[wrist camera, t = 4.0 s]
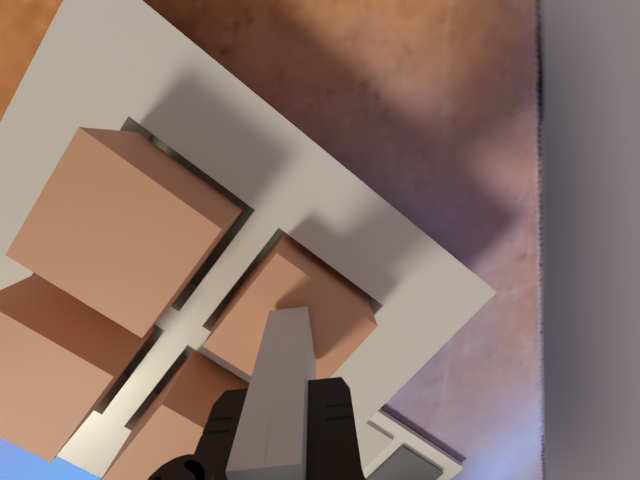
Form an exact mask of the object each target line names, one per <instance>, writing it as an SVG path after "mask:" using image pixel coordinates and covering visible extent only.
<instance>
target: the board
mask: <svg viewBox="0 0 640 480" xmlns="http://www.w3.org/2000/svg"><path fill="white" fill-rule="evenodd" d="M78 127H84V128H96V129H108V130H119V131H131V132H138V133H140V134H141V135H142V136H144V137H145V138H147V139H148V140H149V141H151V142H152V143H153V144H155V145H156V146H157V147H159V148H160V149H161V150H163V151H164V152H166V153H167V154H168V155H170V156H171V157H172V158H174V159H175V160H176V161H178V162H179V163H180V164H182V165H183V166H184V167H186V168H187V169H189V170H190V171H191V172H193V173H194V174H195V175H197V176H198V177H199V178H201V179H202V180H203V181H205V182H206V183H208V184H209V185H210V186H212V187H213V188H214V189H216V190H217V191H218V192H220V193H221V194H222V195H224V196H225V197H227V198H228V199H229V200H231V201H232V202H233V203H235V204H236V205H237V206H239V207H240V208H241V209H243V211H242V212H241V214H240V215H239V216H238V218H237V219H236V220H235V222H234V223H233V224H232V226H231V227H230V229H229V230H228V231H227V233H226V234H225V235H224V237H223V238H222V239H221V241H220V242H219V243H218V245H217V246H216V247H215V249H214V250H213V252H212V253H211V254H210V256H209V257H208V258H207V260H206V261H205V262H204V264H203V265H202V266H201V268H200V269H199V270H198V272H197V273H196V274H195V276H194V277H193V279H192V280H191V281H190V283H189V284H188V285H187V287H186V288H185V289H184V291H183V292H182V293H181V295H180V296H179V297H178V298H177V299H176V301H175V302H174V303H173V304H172V305H171V306H170V307H169V308H168V310H167V311H166V312H165V313H164V314H163V315H162V316H161V317H160V319H159V320H158V321H157V322H156V323H155V324H154V325H153V326H155V327H156V329H155V330H154V331H153V333H152V334H151V335H150V337H149V338H148V339H147V341H146V342H145V343H144V345H143V346H142V347H141V349H140V350H139V352H138V353H137V354H136V356H135V357H134V358H133V360H132V361H131V362H130V364H129V365H128V366H127V368H126V369H125V370H124V372H123V373H122V375H121V376H120V377H119V379H118V380H117V381H116V383H115V384H114V385H113V387H112V388H111V389H110V391H109V392H108V393H107V395H106V396H105V397H104V399H103V400H102V401H101V402H100V404H99V405H98V406H97V407H96V408H95V410H94V411H93V412H92V413H91V415H90V416H89V417H88V418H87V419H86V421H85V422H84V423H83V424H82V425H81V427H80V428H79V429H78V430H77V431H76V433H75V434H74V435H73V436H72V437H71V439H70V440H69V441H68V442H67V443H66V445H65V446H64V447H63V448H62V449H61V451H60V452H59V453H58V454H57V456H58V457H60V458H62V459H64V460H66V461H68V462H70V463H72V464H74V465H76V466H78V467H80V468H82V469H84V470H86V471H88V472H90V473H92V474H94V475H96V476H98V477H100V478H102V477H103V475H104V474H105V472H106V471H107V469H108V467H109V466H110V464H111V463H112V461H113V460H114V458H115V456H116V455H117V453H118V452H119V450H120V449H121V447H122V445H123V444H124V442H125V441H126V439H127V438H128V436H129V434H130V433H131V431H132V430H133V428H134V427H135V425H136V423H137V422H138V420H139V419H140V417H141V416H142V415H143V414H144V412H145V411H146V410H147V409H148V407H149V406H150V405H151V403H152V402H153V401H154V400H155V398H156V397H157V396H158V395H159V393H160V392H161V391H162V390H163V388H164V387H165V386H166V384H167V383H168V382H169V381H170V379H171V378H172V377H173V376H174V374H175V373H176V372H177V370H178V369H179V368H180V367H181V365H182V364H183V363H184V362H185V360H186V359H187V358H188V356H189V355H190V354H191V353H192V351H193V350H194V351H195V352H197V353H198V354H200V355H202V356H203V357H205V358H206V359H208V360H210V361H211V362H213V363H215V364H216V365H218V366H219V367H221V368H223V369H224V370H226V371H227V372H229V373H231V374H232V375H234V376H235V377H237V378H239V379H240V380H242V381H244V382H245V383H247V384H248V385H249V384H250V380H251V376H249V375H248V374H246V373H245V372H243V371H241V370H240V369H238V368H237V367H235V366H234V365H232V364H230V363H229V362H227V361H226V360H224V359H222V358H221V357H219V356H218V355H216V354H214V353H213V352H211V351H210V350H208V349H206V348H205V347H203V345H204V343H205V341H206V339H207V337H208V336H209V334H210V332H211V330H212V328H213V327H214V325H215V323H216V321H217V319H218V317H219V316H220V314H221V312H222V310H223V308H224V307H225V305H226V304H227V303H228V302H229V300H230V299H231V298H232V296H233V295H234V294H235V293H236V291H237V290H238V289H239V287H240V286H241V285H242V284H243V282H244V281H245V280H246V279H247V277H248V276H249V275H250V273H251V272H252V271H253V270H254V268H255V267H256V266H257V265H258V263H259V262H260V261H261V259H262V258H263V257H264V256H265V254H266V253H267V252H268V251H269V249H270V248H271V247H272V245H273V244H274V243H275V242H276V240H277V239H278V238H279V236H280V235H281V234H282V233H283V231H284V232H285V233H287V234H288V235H289V236H291V237H292V238H293V239H295V240H296V241H297V242H299V243H300V244H301V245H303V246H304V247H305V248H307V249H308V250H309V251H311V252H312V253H313V254H315V255H316V256H318V257H319V258H320V259H322V260H323V261H324V262H326V263H327V264H328V265H330V266H331V267H332V268H334V269H335V270H336V271H338V272H339V273H340V274H342V275H343V276H344V277H346V278H347V279H348V280H350V281H351V282H353V283H354V284H355V285H357V286H358V287H359V288H361V289H362V290H363V291H365V293H366V295H367V298H368V301H369V304H370V306H371V309H372V312H373V314H374V317H375V320H376V323H377V325H378V326H377V327H376V328H375V330H374V331H373V332H372V333H371V334H370V335H369V336H368V337H367V338H366V339H365V340H364V341H363V342H362V344H361V345H360V346H359V347H358V348H357V349H356V350H355V351H354V352H353V353H352V354H351V355H350V356H349V358H348V359H347V360H346V361H345V362H344V363H343V364H342V365H341V366H340V367H339V368H338V369H337V370H336V372H335V373H334V374H333V375H332V376H331V377H330V378H334V377H342V378H343V380H344V381H345V382H346V384H347V385H348V386H349V388H350V392H351V399H352V406H353V412H354V419H355V426H356V432H357V431H358V430H359V429H360V428H361V427H362V426H363V425H364V424H365V423H366V422H367V421H368V420H369V419H370V418H371V417H372V416H373V415H374V414H375V413H376V412H377V411H378V410H379V409H380V408H381V407H382V406H383V405H384V404H385V403H386V402H387V401H388V400H389V399H390V398H391V397H392V396H393V395H394V394H395V393H396V392H397V391H398V390H399V389H400V388H401V387H402V386H403V385H404V384H405V383H406V382H407V381H408V380H409V379H410V378H411V377H412V376H413V375H414V374H415V373H416V372H417V371H418V370H419V369H420V368H421V367H422V366H423V365H424V364H425V363H426V362H427V361H428V360H429V359H430V358H431V357H432V356H433V355H434V354H435V353H436V352H437V351H438V350H439V349H440V348H441V347H442V346H443V345H444V344H445V343H446V342H447V341H448V340H449V339H450V338H451V337H452V336H453V335H454V334H455V333H456V332H457V331H458V330H459V329H460V328H461V327H462V326H463V325H464V324H465V323H466V322H467V321H468V320H469V319H470V318H471V317H472V316H473V315H474V314H475V313H476V312H477V311H478V310H479V309H480V308H481V307H482V306H483V305H484V304H485V303H486V302H487V301H488V300H489V299H490V298H491V297H492V296H493V295H494V294H495V293H496V291H495V290H493V289H492V288H491V287H490V286H489V285H487V284H486V283H485V282H484V281H482V280H481V279H480V278H479V277H478V276H476V275H475V274H474V273H473V272H472V271H470V270H469V269H468V268H467V267H465V266H464V265H463V264H462V263H461V262H459V261H458V260H457V259H456V258H455V257H453V256H452V255H451V254H450V253H448V252H447V251H446V250H445V249H444V248H442V247H441V246H440V245H439V244H438V243H436V242H435V241H434V240H433V239H432V238H430V237H429V236H428V235H427V234H425V233H424V232H423V231H422V230H421V229H419V228H418V227H417V226H416V225H415V224H413V223H412V222H411V221H410V220H408V219H407V218H406V217H405V216H404V215H402V214H401V213H400V212H399V211H398V210H396V209H395V208H394V207H393V206H391V205H390V204H389V203H388V202H387V201H385V200H384V199H383V198H382V197H381V196H379V195H378V194H377V193H376V192H374V191H373V190H372V189H371V188H370V187H368V186H367V185H366V184H365V183H364V182H362V181H361V180H360V179H359V178H357V177H356V176H355V175H354V174H353V173H351V172H350V171H349V170H348V169H347V168H345V167H344V166H343V165H342V164H340V163H339V162H338V161H337V160H336V159H334V158H333V157H332V156H331V155H330V154H328V153H327V152H326V151H325V150H323V149H322V148H321V147H320V146H319V145H317V144H316V143H315V142H314V141H313V140H311V139H310V138H309V137H308V136H306V135H305V134H304V133H303V132H302V131H300V130H299V129H298V128H297V127H296V126H294V125H293V124H292V123H291V122H289V121H288V120H287V119H286V118H285V117H283V116H282V115H281V114H280V113H279V112H277V111H276V110H275V109H274V108H272V107H271V106H270V105H269V104H268V103H266V102H265V101H264V100H263V99H262V98H260V97H259V96H258V95H257V94H255V93H254V92H253V91H252V90H251V89H249V88H248V87H247V86H246V85H245V84H243V83H242V82H241V81H240V80H238V79H237V78H236V77H235V76H234V75H232V74H231V73H230V72H229V71H228V70H226V69H225V68H224V67H223V66H221V65H220V64H219V63H218V62H217V61H215V60H214V59H213V58H212V57H211V56H209V55H208V54H207V53H206V52H204V51H203V50H202V49H201V48H200V47H198V46H197V45H196V44H195V43H194V42H192V41H191V40H190V39H189V38H187V37H186V36H185V35H184V34H183V33H181V32H180V31H179V30H178V29H177V28H175V27H174V26H173V25H172V24H170V23H169V22H168V21H167V20H166V19H164V18H163V17H162V16H161V15H160V14H158V13H157V12H156V11H155V10H153V9H152V8H151V7H150V6H149V5H147V4H146V3H145V2H144V1H143V0H63V2H62V3H61V5H60V7H59V9H58V11H57V13H56V15H55V17H54V19H53V21H52V23H51V25H50V27H49V29H48V31H47V33H46V34H45V36H44V38H43V40H42V42H41V44H40V46H39V48H38V50H37V52H36V54H35V56H34V58H33V60H32V62H31V64H30V66H29V67H28V69H27V71H26V73H25V75H24V77H23V79H22V81H21V83H20V85H19V87H18V89H17V91H16V93H15V95H14V97H13V99H12V100H11V102H10V104H9V106H8V108H7V110H6V112H5V114H4V116H3V118H2V120H1V122H0V290H2V289H4V288H6V287H8V286H10V285H13V284H15V283H17V282H19V281H21V280H23V279H26V278H28V277H30V276H32V275H34V274H36V273H34V272H32V271H31V270H29V269H27V268H26V267H24V266H22V265H21V264H19V263H18V262H16V261H14V260H13V259H11V258H9V257H8V256H6V255H5V254H6V253H7V251H8V249H9V247H10V246H11V244H12V242H13V240H14V239H15V237H16V235H17V233H18V232H19V230H20V228H21V227H22V225H23V223H24V221H25V220H26V218H27V216H28V214H29V213H30V211H31V209H32V207H33V206H34V204H35V202H36V200H37V199H38V197H39V195H40V193H41V192H42V190H43V188H44V186H45V185H46V183H47V181H48V180H49V178H50V176H51V174H52V173H53V171H54V169H55V167H56V166H57V164H58V162H59V160H60V159H61V157H62V155H63V153H64V152H65V150H66V148H67V146H68V145H69V143H70V141H71V139H72V138H73V136H74V134H75V133H76V131H77V129H78Z"/></svg>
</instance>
